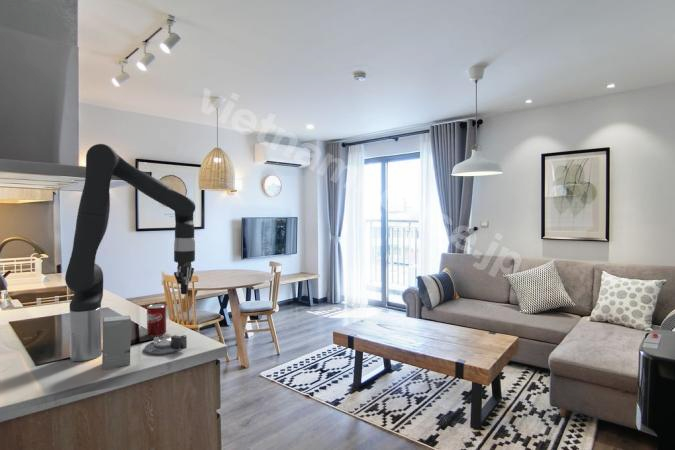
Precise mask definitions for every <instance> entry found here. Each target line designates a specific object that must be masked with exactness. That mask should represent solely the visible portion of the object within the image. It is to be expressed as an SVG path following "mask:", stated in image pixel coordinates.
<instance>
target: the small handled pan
mask: <svg viewBox="0 0 675 450" xmlns="http://www.w3.org/2000/svg"><path fill="white" fill-rule="evenodd" d="M187 340H188V337H187V335H186V334H184V335H177V334H174V335H171V333H165V334H164V335H162V336H157V337H153V342H154V347H155V348H159V349H163V348H169V347H177V348H181V349H182V350H186V349H188V348H187V346H188V345H187V344H188V343H187Z"/></svg>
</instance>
